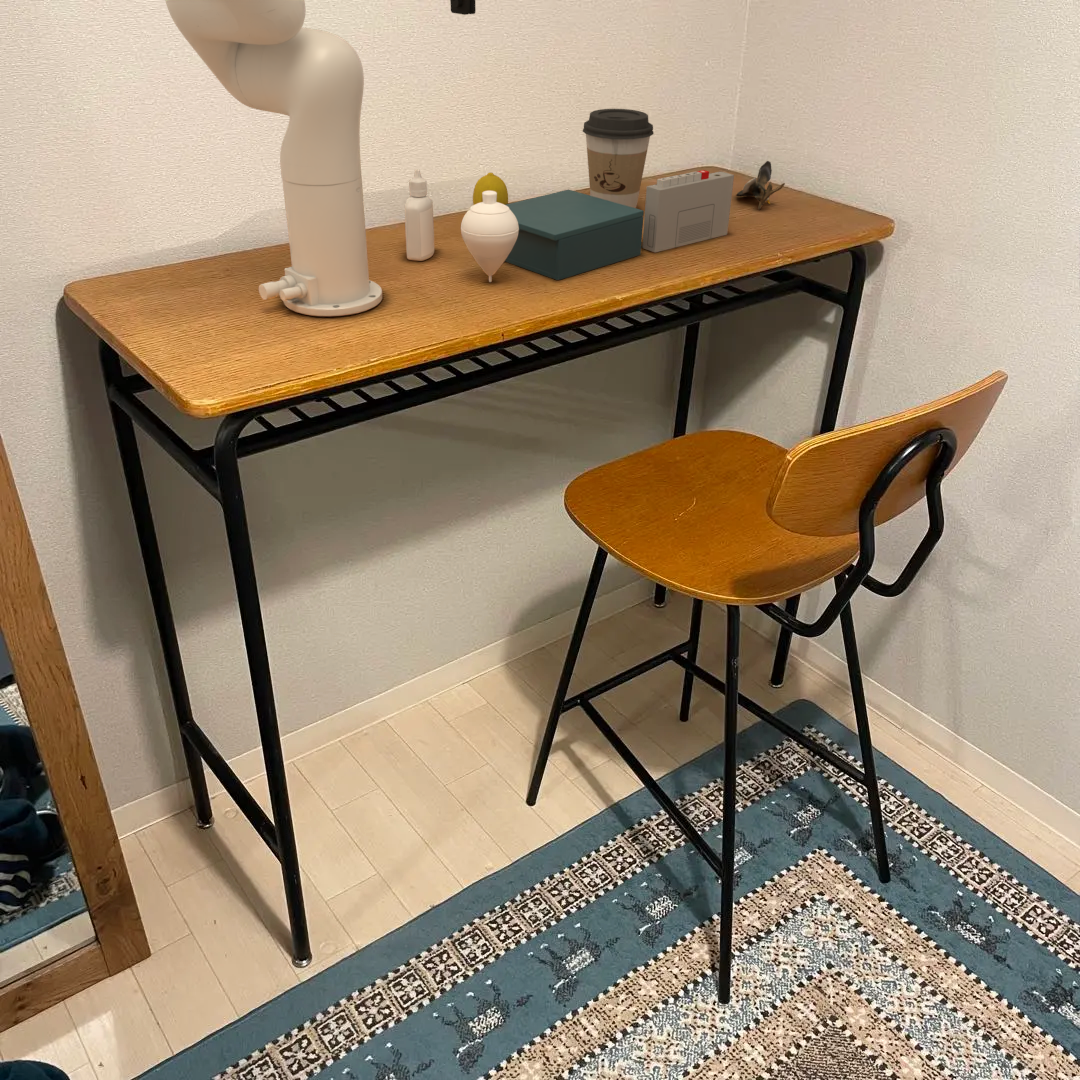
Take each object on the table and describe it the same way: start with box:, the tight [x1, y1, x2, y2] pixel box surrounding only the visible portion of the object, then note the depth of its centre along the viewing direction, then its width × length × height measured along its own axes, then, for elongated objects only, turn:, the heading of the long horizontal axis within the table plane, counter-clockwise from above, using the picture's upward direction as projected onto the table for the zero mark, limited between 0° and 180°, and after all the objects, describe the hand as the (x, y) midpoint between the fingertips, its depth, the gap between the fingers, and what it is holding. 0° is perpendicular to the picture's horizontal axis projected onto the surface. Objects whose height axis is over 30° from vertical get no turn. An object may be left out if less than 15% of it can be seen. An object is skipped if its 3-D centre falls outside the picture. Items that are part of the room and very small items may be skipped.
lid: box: [506, 189, 645, 240], centre depth 149 cm, size 18×15×1 cm
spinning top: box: [460, 191, 519, 283], centre depth 138 cm, size 8×8×12 cm
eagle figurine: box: [735, 160, 786, 211], centre depth 176 cm, size 8×7×9 cm
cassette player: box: [641, 169, 735, 253], centre depth 156 cm, size 16×3×10 cm, turn 129°
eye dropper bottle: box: [404, 169, 436, 262], centre depth 147 cm, size 4×6×12 cm
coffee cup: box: [582, 108, 654, 208], centre depth 168 cm, size 11×11×15 cm
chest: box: [504, 215, 644, 281], centre depth 151 cm, size 17×15×6 cm
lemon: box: [472, 172, 509, 206], centre depth 162 cm, size 6×6×8 cm
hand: (463, 13), depth 138 cm, fingers closed
